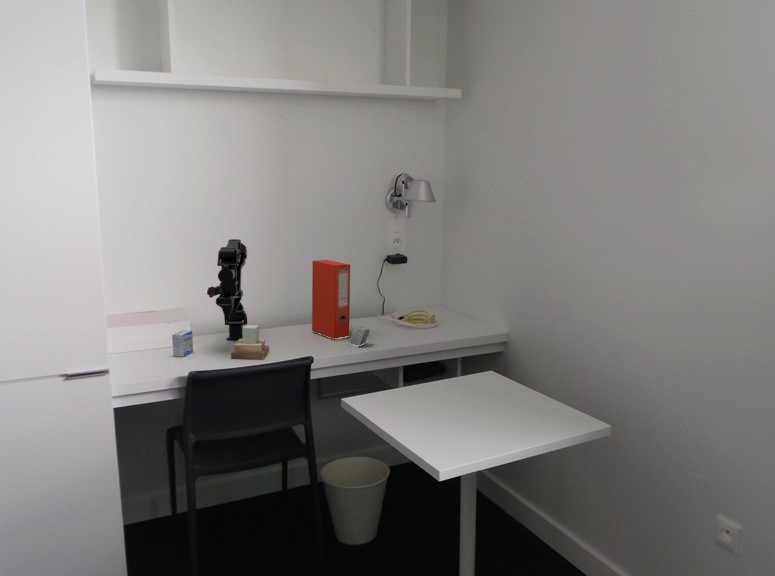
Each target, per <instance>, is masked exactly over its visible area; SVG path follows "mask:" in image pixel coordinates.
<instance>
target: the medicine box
mask: <svg viewBox="0 0 775 576" xmlns="http://www.w3.org/2000/svg"><path fill="white" fill-rule="evenodd" d="M171 337H172V341H171V342H172V356H173V357H179V358H184V357H186V356H189V355H190V354H191V353H193V352H194V345H193V343H194V342H193V330H188V329H187V330H186V329H185V330H184V329H183V330H180V331H178V332H175V333H174V334H172V335H171Z"/></svg>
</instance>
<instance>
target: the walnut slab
mask: <svg viewBox="0 0 775 576" xmlns="http://www.w3.org/2000/svg"><path fill="white" fill-rule="evenodd" d="M269 352H270V346H269V345H265V348H264V349H263V351H262V352H261V353H234V350H232V351H231V352H230V360H246V361H247V360H254V361H255V360H257V361H264V359H265V358H266V356H267V355H268V354H269Z"/></svg>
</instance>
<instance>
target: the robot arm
mask: <svg viewBox="0 0 775 576" xmlns="http://www.w3.org/2000/svg"><path fill="white" fill-rule="evenodd" d="M247 259H248V249H247V246H246V245H245V244H243V242H242V241H241V239H237V238H235V239H232V238H230V239H228V242H227V244H226V246H221V247H220V248H219V250H218V254H217V263H216V264H217V265H216V266H217V267H221V268H220V270H219V271H218V274H217V278H218V281H219V282H220V283H219V285H217V286H212V285H211V286H209V287H208V288H207V290H206V292H207V293H206V295H208V296H209V299H211V298H214V297H216V296H217V298H215V304H216V305H217V307H220V308H221V310H222V312H223V313H222V314H223V317H224V318H223V319H224V326H228V336H227V338H226V340H228V341H238V340H239V339H243V327H244V326H246V325H248V315H247V312H246V310H245V308H244V306H243V304H242V302H241V301H242V299H243V296H244V291H243V290H242V269H243V268H244V267H245V265H246V261H247Z"/></svg>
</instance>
